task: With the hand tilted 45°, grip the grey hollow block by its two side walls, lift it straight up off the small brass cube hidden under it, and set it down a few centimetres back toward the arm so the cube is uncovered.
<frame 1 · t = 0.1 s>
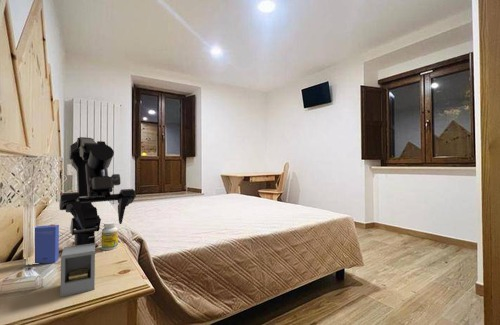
hand: (102, 226, 70), 15 cm above the table, tool tilted 35°, fingers open, 9 cm apart
grey hollow block: (78, 286, 65), on the table
supplement bottle: (109, 248, 94), on the table
walkman: (42, 263, 80), on the table
brass cube: (78, 287, 65), on the table
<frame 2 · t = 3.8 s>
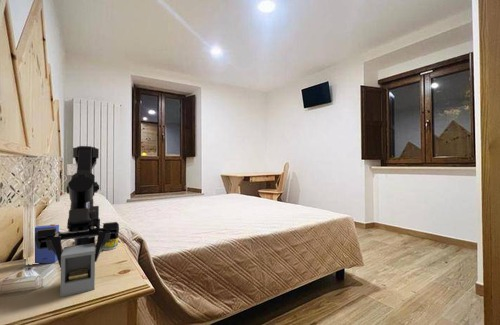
hand: (78, 263, 64), 7 cm above the table, tool tilted 45°, fingers closed on grey hollow block, 7 cm apart
grey hollow block: (78, 286, 65), on the table, touching gripper
everything else where it was.
when the fingers open (8 cm above the table, at t = 9.4 s): grey hollow block drops 1 cm, on the table.
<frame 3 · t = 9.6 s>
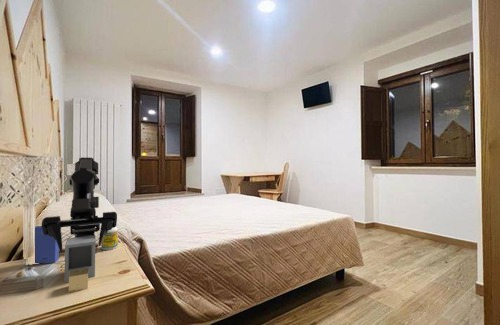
hand: (80, 248, 71), 8 cm above the table, tool tilted 45°, fingers open, 9 cm apart
grey hollow block: (80, 274, 72), on the table
everything else where it was.
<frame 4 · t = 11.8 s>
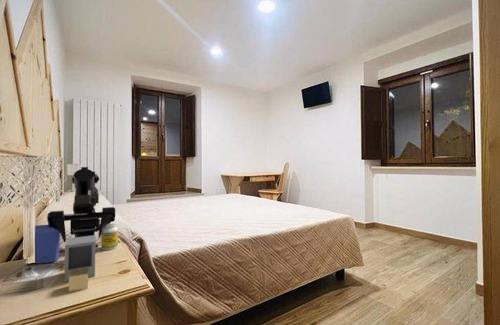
hand: (82, 239, 79), 8 cm above the table, tool tilted 45°, fingers open, 9 cm apart
walkman: (42, 262, 80), on the table, touching gripper
everything else where it was.
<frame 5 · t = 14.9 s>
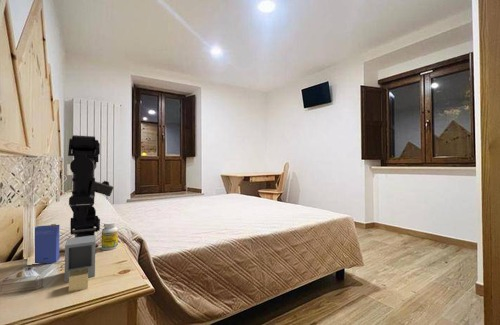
hand: (83, 222, 80), 13 cm above the table, tool pointing down, fingers open, 9 cm apart
walkman: (43, 263, 80), on the table
everything else where it was.
at the end: grey hollow block moved 8.4 cm from its start; brass cube moved 0.1 cm from its start; grey hollow block tilted 0° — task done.
